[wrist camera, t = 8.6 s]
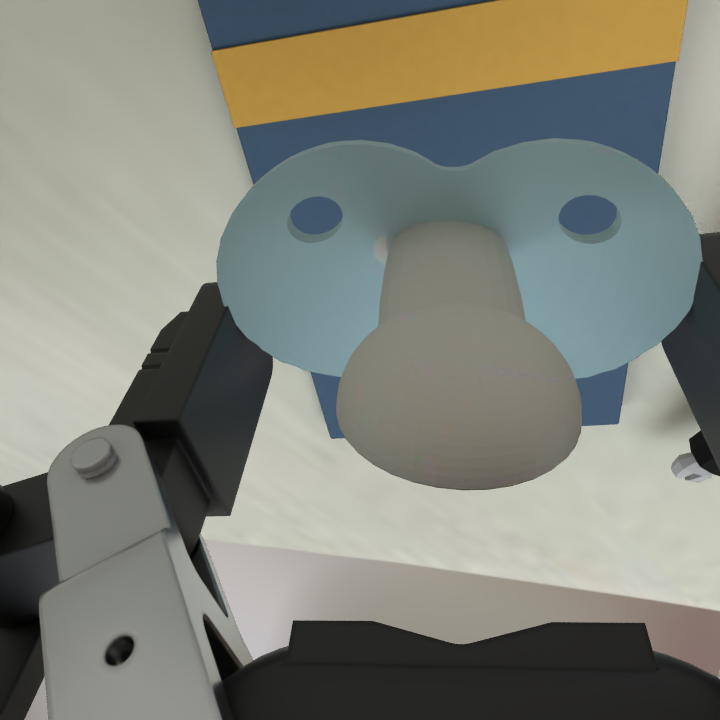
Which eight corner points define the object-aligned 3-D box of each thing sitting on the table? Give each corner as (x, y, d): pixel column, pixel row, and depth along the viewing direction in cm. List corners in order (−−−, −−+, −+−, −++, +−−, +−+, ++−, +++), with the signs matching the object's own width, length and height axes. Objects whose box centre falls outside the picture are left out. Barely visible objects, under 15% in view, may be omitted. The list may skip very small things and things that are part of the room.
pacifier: (600, 377, 13) (687, 102, 9) (691, 674, 9) (944, 391, 5) (280, 370, 14) (229, 113, 10) (210, 643, 9) (62, 373, 5)
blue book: (332, 425, 31) (330, 441, 30) (203, -14, 18) (192, -8, 17) (614, 409, 29) (619, 426, 28) (690, -111, 16) (705, -109, 15)
